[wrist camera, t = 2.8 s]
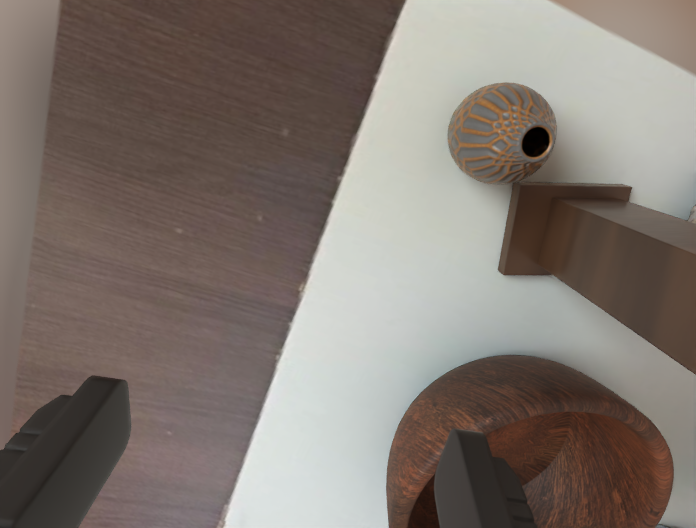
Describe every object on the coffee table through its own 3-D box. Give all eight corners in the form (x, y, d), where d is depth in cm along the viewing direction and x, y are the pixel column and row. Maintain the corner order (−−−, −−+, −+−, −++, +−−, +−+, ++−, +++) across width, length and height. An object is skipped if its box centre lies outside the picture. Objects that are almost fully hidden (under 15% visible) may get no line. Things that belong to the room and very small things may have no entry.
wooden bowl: (323, 465, 45) (331, 565, 36) (483, 284, 39) (544, 344, 30) (489, 543, 53) (532, 642, 43) (643, 401, 47) (731, 478, 38)
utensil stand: (476, 270, 39) (934, 712, 11) (490, 181, 36) (1158, 478, 8) (599, 269, 40) (1272, 657, 13) (622, 184, 37) (1564, 443, 10)
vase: (474, 191, 36) (527, 220, 28) (419, 134, 34) (458, 146, 26) (537, 127, 35) (612, 138, 27) (484, 63, 32) (547, 53, 24)
